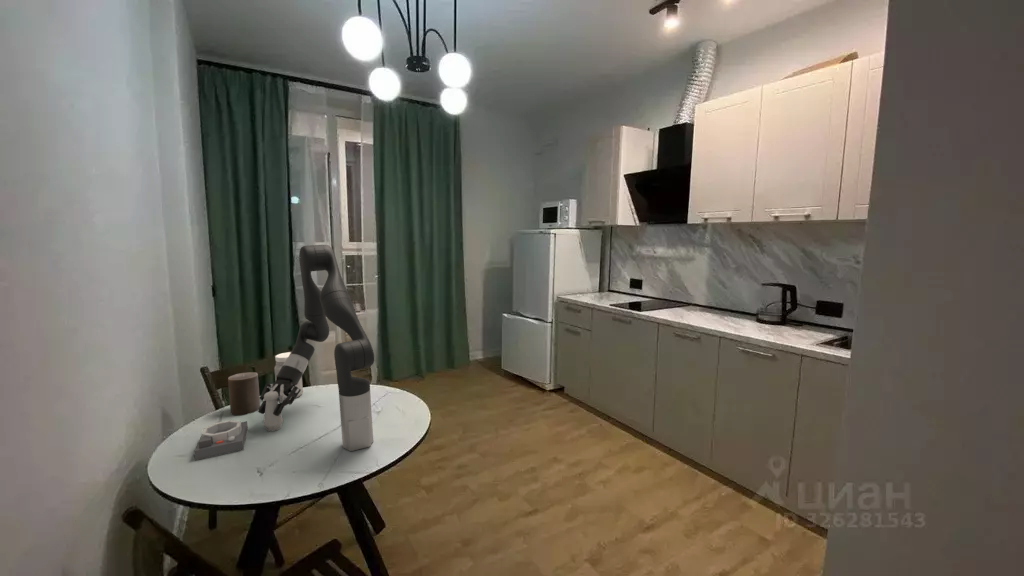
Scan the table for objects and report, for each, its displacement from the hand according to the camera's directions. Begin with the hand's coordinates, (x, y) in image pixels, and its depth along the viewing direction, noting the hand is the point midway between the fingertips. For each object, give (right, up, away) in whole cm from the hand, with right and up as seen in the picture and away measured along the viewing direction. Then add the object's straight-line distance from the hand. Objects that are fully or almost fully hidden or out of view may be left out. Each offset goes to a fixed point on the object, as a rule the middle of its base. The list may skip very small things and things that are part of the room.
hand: (268, 413), depth 139 cm
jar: (-10, -3, +32) cm, 33 cm away
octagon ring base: (-10, -7, -8) cm, 14 cm away
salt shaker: (+1, -6, +2) cm, 7 cm away
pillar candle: (-20, -4, +19) cm, 27 cm away
